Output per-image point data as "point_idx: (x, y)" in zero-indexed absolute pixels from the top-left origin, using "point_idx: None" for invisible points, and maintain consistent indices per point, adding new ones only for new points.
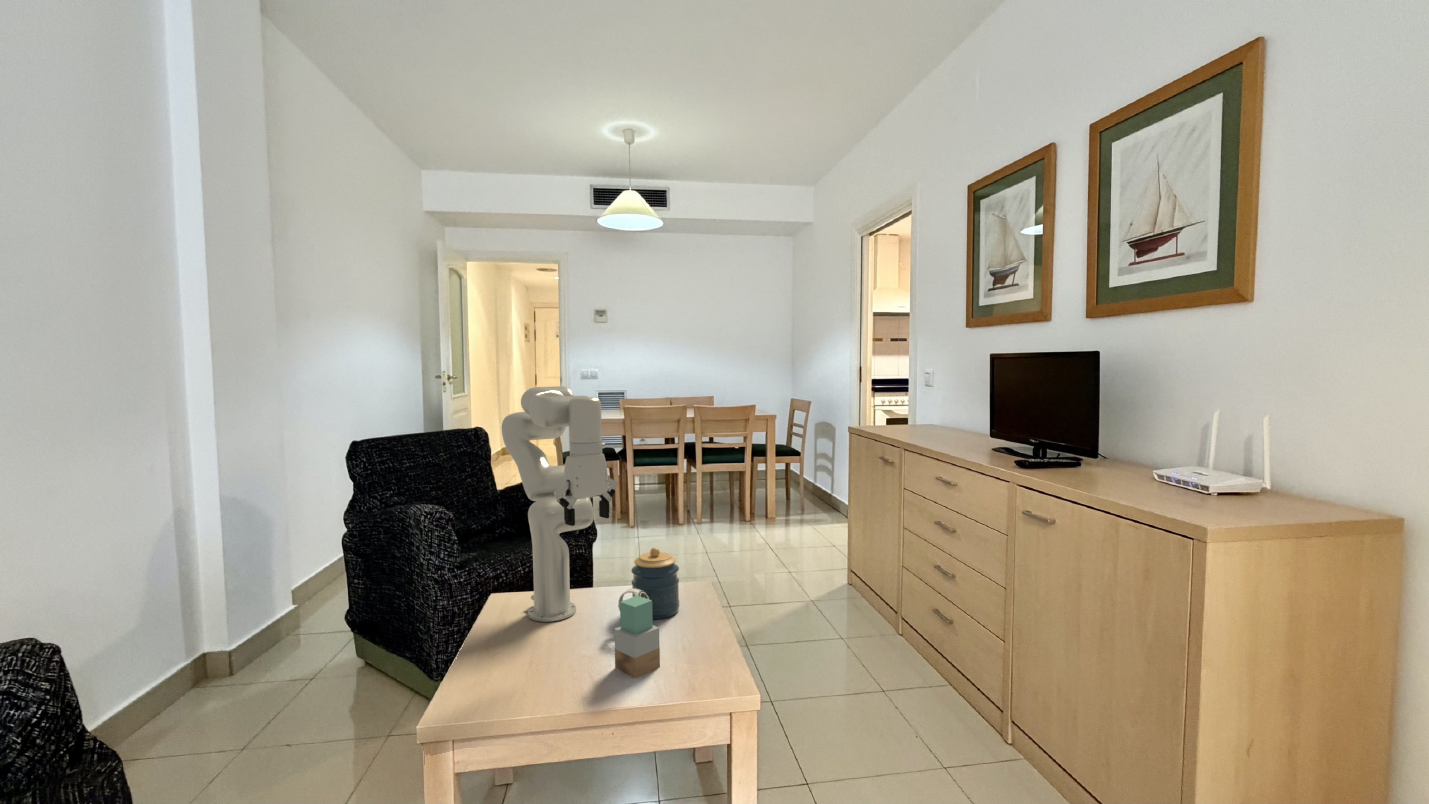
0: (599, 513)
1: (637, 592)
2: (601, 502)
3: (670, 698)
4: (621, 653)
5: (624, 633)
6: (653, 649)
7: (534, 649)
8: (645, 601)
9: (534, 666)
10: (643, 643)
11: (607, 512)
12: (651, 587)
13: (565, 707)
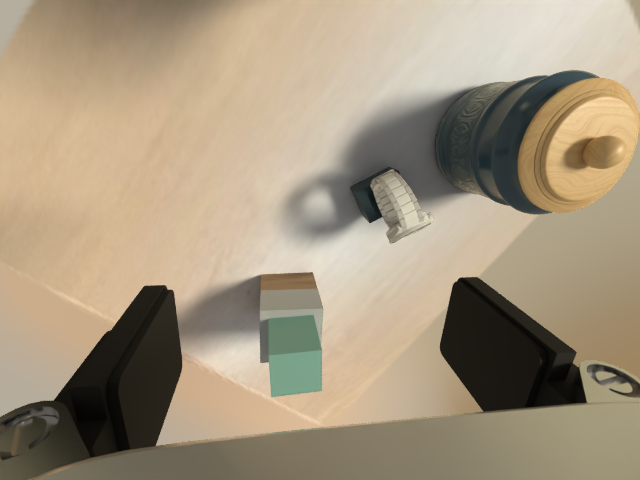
0: (465, 292)
1: (409, 226)
2: (526, 382)
3: (260, 383)
4: None
5: (260, 338)
6: None
7: (190, 91)
8: (308, 386)
9: (154, 164)
10: None
11: (464, 380)
12: (481, 183)
13: None
